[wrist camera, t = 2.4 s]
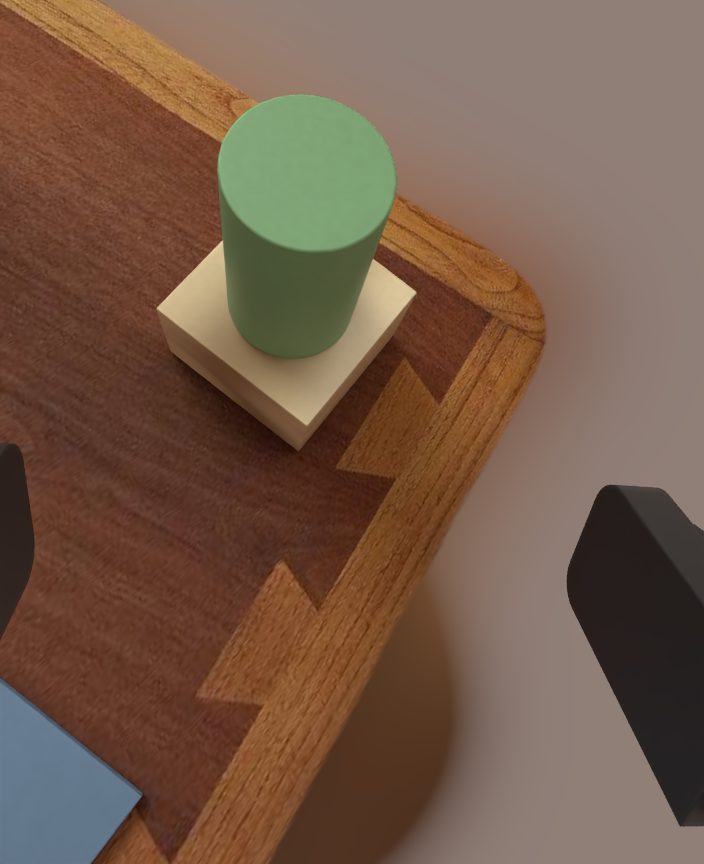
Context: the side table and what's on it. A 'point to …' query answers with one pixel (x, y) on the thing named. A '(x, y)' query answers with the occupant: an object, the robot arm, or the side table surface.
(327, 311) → the green canister
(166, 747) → the side table surface
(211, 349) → the maple block
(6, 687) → the blue mat
